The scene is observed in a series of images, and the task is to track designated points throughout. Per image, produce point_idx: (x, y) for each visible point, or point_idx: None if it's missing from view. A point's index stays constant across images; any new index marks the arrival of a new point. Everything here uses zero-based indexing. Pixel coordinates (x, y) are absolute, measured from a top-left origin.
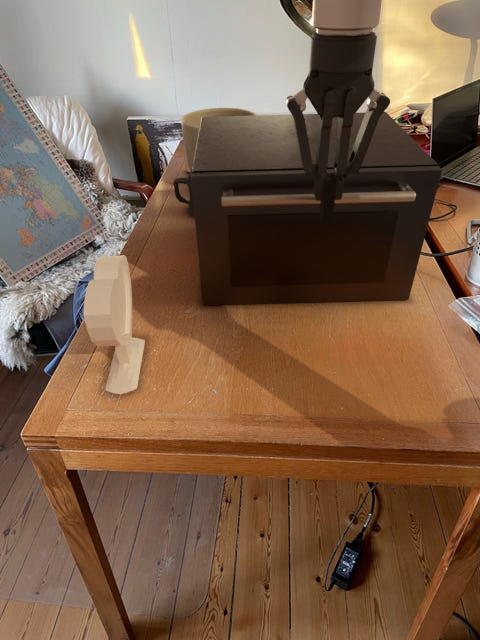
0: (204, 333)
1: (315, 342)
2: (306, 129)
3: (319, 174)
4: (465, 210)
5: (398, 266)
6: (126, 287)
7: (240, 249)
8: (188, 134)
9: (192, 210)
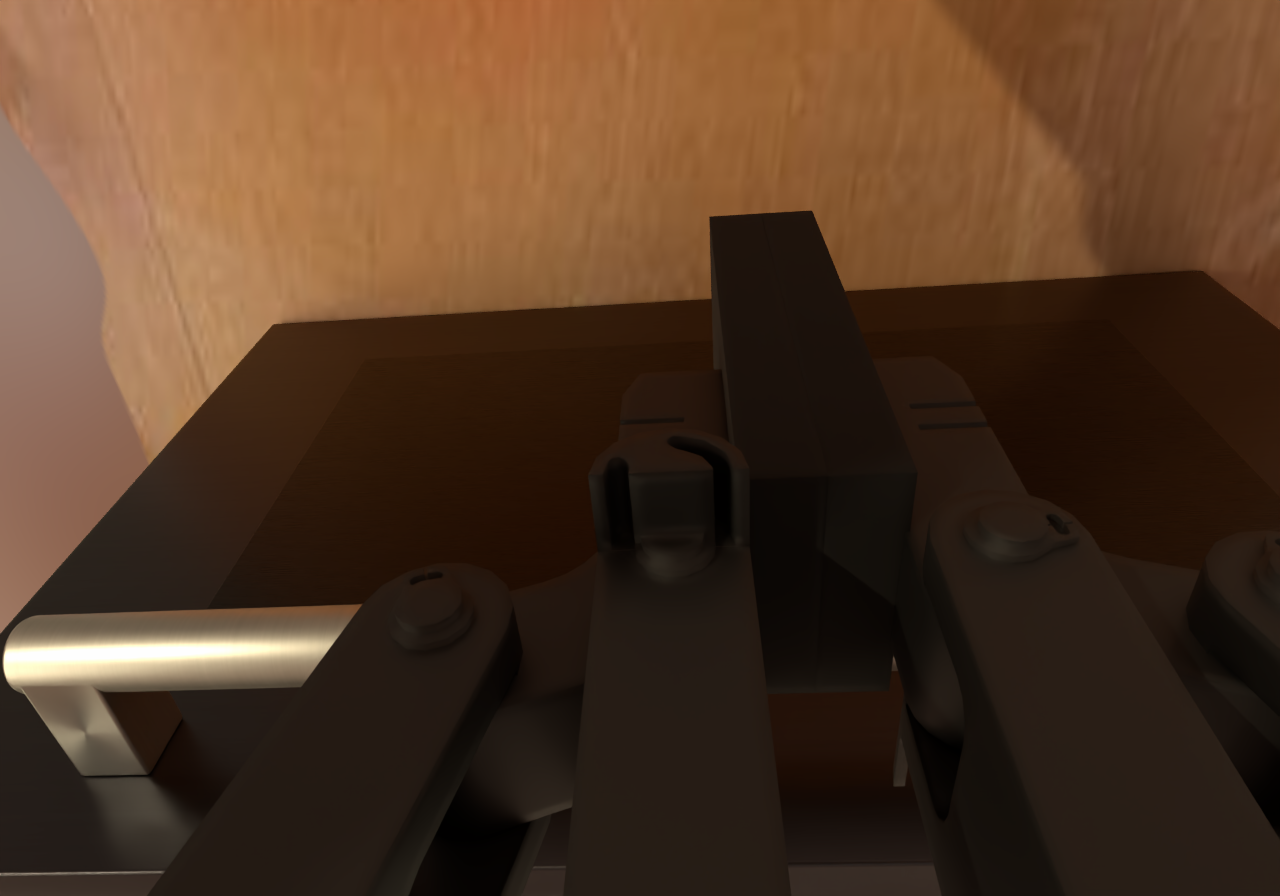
0: (1243, 58)
1: (704, 3)
2: None
3: (1064, 545)
4: None
5: (283, 410)
6: None
7: (1149, 435)
8: None
9: None
